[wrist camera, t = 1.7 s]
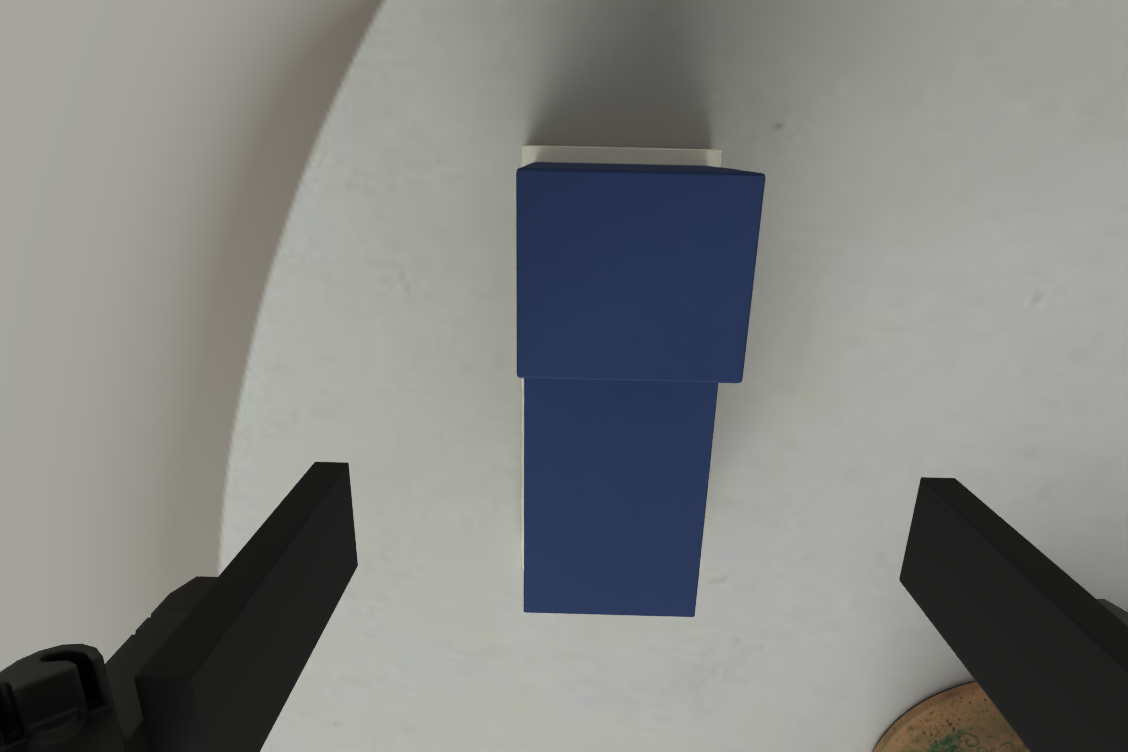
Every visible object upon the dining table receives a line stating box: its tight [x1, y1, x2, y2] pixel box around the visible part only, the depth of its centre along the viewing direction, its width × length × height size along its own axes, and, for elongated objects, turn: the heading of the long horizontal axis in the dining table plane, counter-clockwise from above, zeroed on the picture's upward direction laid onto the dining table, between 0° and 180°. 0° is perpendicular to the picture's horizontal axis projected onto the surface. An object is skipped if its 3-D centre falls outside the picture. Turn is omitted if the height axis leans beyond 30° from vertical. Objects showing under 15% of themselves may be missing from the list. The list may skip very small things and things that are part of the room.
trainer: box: [516, 145, 765, 617], centre depth 21 cm, size 16×6×8 cm, turn 179°
